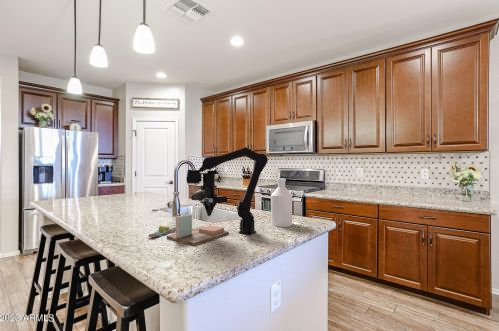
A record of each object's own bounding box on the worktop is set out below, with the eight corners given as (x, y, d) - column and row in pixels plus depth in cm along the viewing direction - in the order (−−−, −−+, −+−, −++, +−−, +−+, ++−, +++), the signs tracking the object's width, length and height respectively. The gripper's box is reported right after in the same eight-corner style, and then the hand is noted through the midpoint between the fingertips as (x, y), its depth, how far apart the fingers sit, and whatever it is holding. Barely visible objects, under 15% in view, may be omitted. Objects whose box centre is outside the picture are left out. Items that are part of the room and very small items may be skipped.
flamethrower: (139, 237, 123) (157, 240, 119) (140, 231, 123) (157, 234, 119) (178, 224, 150) (194, 227, 146) (179, 219, 150) (194, 222, 146)
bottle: (266, 224, 146) (266, 179, 146) (277, 220, 156) (277, 177, 155) (286, 227, 139) (286, 179, 139) (296, 223, 149) (296, 178, 149)
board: (228, 233, 128) (228, 231, 128) (194, 245, 110) (194, 242, 110) (202, 228, 139) (202, 226, 139) (166, 238, 121) (166, 235, 121)
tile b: (192, 233, 124) (191, 214, 124) (178, 237, 118) (178, 217, 117) (189, 233, 125) (189, 214, 125) (175, 237, 119) (175, 217, 118)
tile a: (210, 228, 134) (224, 231, 128) (198, 232, 127) (212, 234, 122) (210, 225, 134) (224, 227, 128) (198, 228, 127) (212, 231, 122)
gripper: (182, 183, 127) (182, 216, 128) (211, 185, 116) (211, 221, 117) (199, 182, 136) (200, 212, 137) (227, 184, 125) (228, 217, 126)
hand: (209, 216), depth 129 cm, fingers closed
